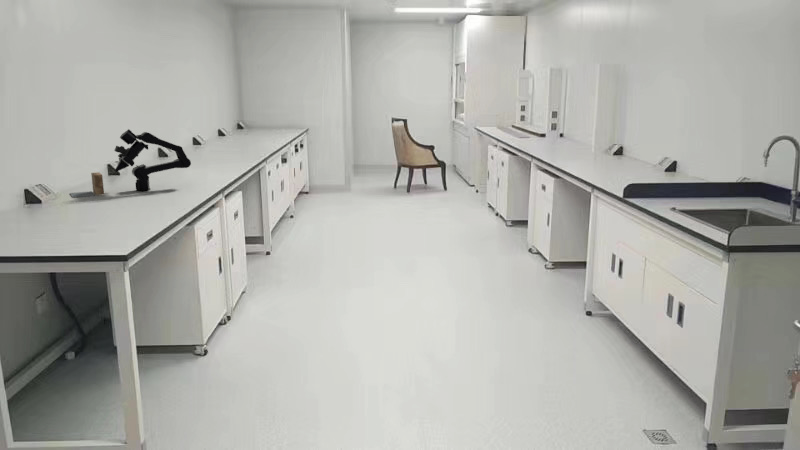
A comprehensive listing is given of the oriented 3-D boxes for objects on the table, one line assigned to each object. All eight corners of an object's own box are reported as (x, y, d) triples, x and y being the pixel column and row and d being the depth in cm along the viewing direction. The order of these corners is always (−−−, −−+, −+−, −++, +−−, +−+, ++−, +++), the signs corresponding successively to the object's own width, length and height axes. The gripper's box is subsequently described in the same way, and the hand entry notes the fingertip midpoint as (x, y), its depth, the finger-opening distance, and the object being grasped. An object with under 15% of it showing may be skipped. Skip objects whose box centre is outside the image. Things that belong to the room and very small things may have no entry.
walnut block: (101, 191, 350) (99, 172, 347) (104, 194, 340) (102, 175, 337) (93, 192, 347) (91, 172, 345) (96, 195, 338) (94, 175, 335)
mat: (91, 192, 348) (91, 191, 348) (95, 195, 336) (95, 195, 336) (69, 193, 342) (69, 193, 342) (72, 197, 331) (72, 196, 331)
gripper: (120, 139, 353) (100, 159, 349) (125, 141, 337) (105, 163, 334) (136, 152, 359) (117, 172, 355) (142, 155, 343) (122, 176, 340)
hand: (115, 171), depth 346 cm, fingers closed
